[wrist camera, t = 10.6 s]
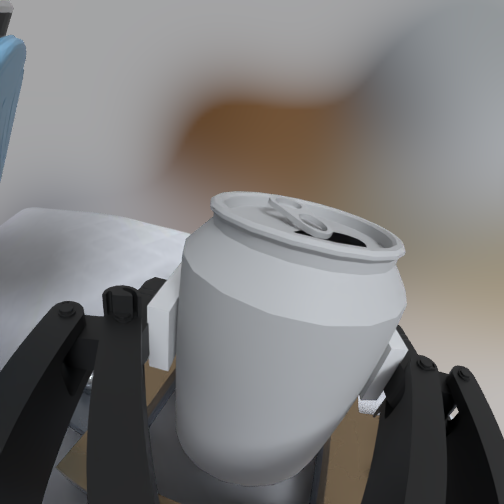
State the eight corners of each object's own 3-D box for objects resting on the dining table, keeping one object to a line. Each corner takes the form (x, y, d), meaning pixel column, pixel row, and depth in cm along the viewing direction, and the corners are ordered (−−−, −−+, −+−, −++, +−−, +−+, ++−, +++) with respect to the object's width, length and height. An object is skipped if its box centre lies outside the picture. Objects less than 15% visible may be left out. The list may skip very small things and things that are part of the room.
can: (224, 516, 8) (330, 276, 3) (154, 405, 13) (156, 177, 9) (338, 447, 12) (450, 248, 8) (260, 372, 17) (307, 191, 13)
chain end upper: (70, 481, 8) (43, 452, 7) (175, 348, 22) (177, 309, 21) (416, 557, 5) (463, 539, 3) (403, 407, 19) (428, 374, 17)
